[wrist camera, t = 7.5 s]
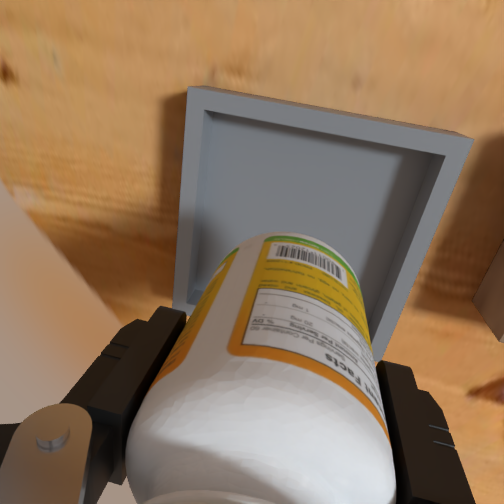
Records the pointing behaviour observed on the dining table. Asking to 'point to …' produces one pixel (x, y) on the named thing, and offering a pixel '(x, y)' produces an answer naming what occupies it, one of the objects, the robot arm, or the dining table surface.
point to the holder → (493, 296)
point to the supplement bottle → (267, 389)
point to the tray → (312, 191)
